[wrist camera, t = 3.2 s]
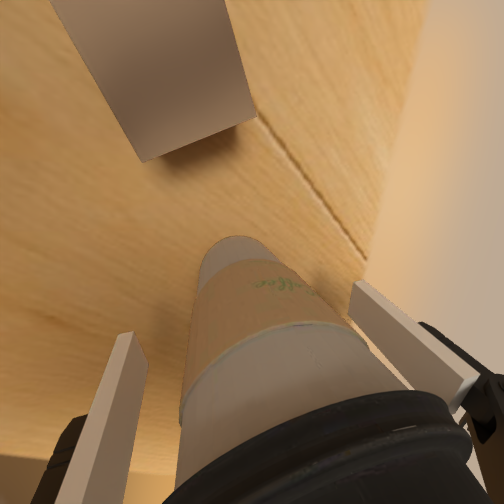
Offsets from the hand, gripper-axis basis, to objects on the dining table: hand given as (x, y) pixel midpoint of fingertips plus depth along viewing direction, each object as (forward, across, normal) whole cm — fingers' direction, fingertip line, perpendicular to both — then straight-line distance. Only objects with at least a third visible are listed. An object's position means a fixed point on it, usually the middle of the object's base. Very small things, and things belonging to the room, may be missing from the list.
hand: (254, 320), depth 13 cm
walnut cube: (+6, -2, +12) cm, 14 cm away
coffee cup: (+6, 0, 0) cm, 6 cm away
